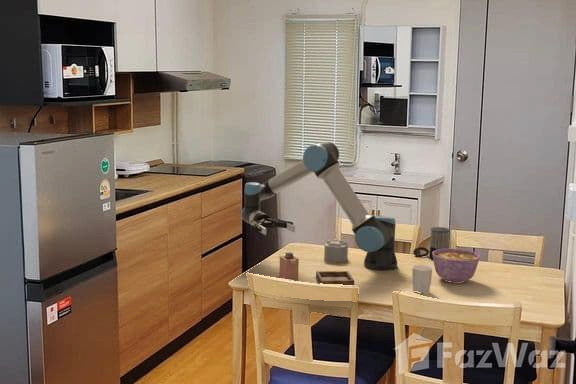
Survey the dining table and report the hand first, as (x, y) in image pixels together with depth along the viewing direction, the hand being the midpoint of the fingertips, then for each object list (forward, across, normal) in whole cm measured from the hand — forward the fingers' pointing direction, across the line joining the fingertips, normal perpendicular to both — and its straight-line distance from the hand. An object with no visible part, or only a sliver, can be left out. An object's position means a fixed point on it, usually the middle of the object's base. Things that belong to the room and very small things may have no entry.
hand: (280, 230), depth 311 cm
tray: (+20, -17, -19) cm, 32 cm away
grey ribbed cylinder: (+3, -79, -19) cm, 81 cm away
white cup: (+46, -42, -19) cm, 65 cm away
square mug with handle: (+9, 0, -19) cm, 21 cm away
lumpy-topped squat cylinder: (-12, -36, -19) cm, 43 cm away
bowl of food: (+38, -66, -19) cm, 78 cm away
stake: (+9, 0, -19) cm, 21 cm away
